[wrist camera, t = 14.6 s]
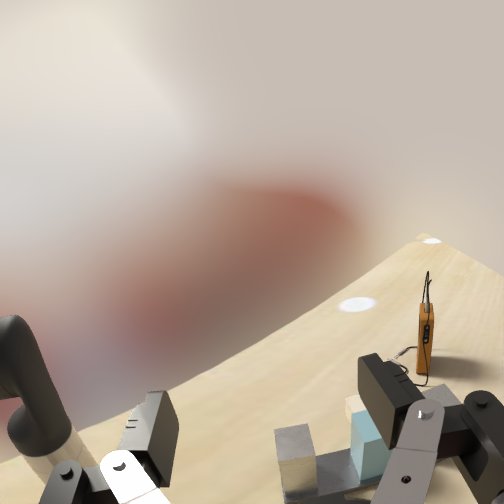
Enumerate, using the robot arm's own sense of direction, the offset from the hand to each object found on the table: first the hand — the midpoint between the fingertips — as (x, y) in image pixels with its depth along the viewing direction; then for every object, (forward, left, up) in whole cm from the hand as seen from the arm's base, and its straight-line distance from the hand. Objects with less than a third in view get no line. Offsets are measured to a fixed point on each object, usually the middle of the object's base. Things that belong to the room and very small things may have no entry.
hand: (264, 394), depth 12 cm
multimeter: (-13, +48, -33) cm, 60 cm away
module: (-6, +21, -32) cm, 39 cm away
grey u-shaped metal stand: (-6, +21, -33) cm, 40 cm away
